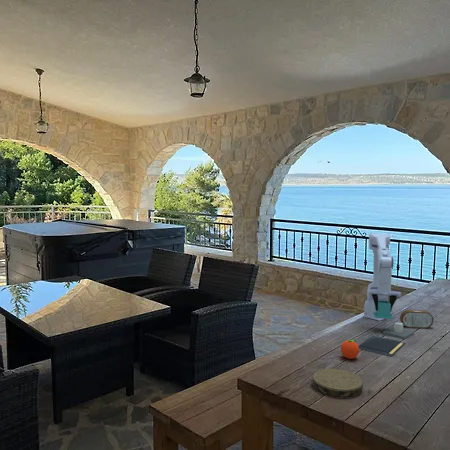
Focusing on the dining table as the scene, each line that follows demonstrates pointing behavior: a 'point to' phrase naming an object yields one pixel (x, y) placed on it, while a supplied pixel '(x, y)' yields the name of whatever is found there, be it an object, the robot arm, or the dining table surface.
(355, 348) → the clementine
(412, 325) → the tin
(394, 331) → the post block
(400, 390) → the dining table surface
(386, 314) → the flange
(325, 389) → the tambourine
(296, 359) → the dining table surface
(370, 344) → the wallet
